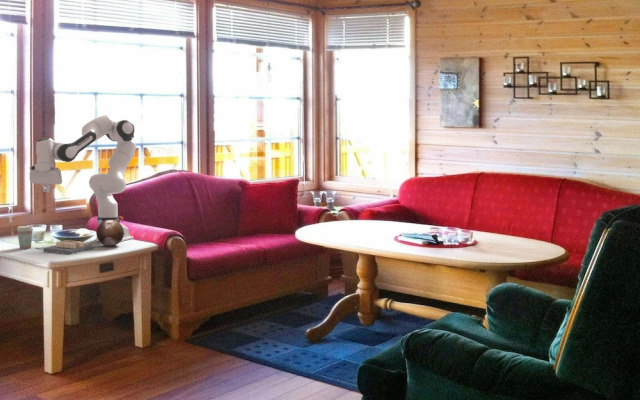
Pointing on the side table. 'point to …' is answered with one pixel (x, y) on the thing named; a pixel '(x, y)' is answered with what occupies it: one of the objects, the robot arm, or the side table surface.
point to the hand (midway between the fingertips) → (46, 191)
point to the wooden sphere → (110, 232)
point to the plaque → (69, 244)
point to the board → (67, 249)
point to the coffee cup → (25, 236)
